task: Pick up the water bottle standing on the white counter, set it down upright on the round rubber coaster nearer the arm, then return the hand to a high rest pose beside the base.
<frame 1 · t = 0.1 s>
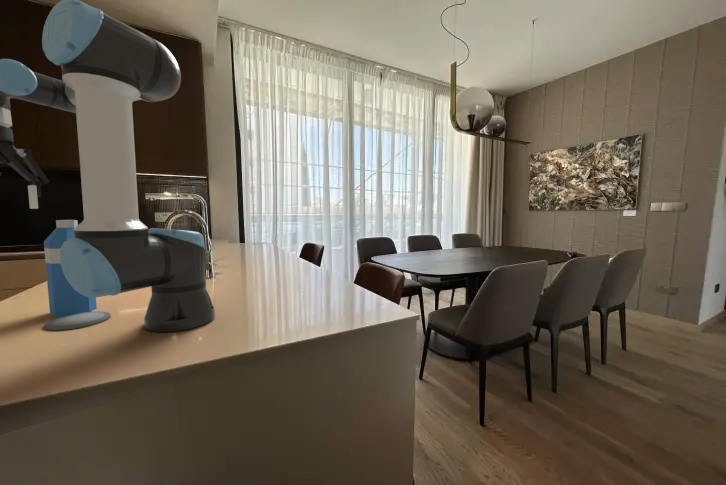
coaster: (79, 321, 76), on the countertop
water bottle: (74, 312, 84), on the countertop
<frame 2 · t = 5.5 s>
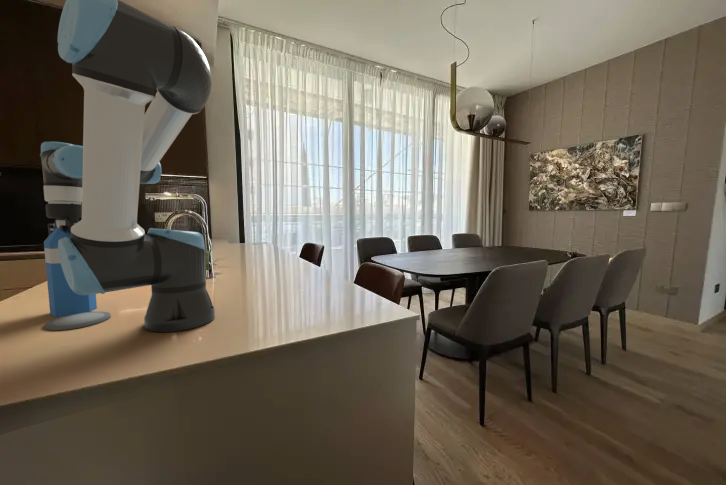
hand: (72, 286, 84), 7 cm above the countertop, fingers closed on water bottle, 9 cm apart
water bottle: (74, 311, 84), on the countertop, touching gripper
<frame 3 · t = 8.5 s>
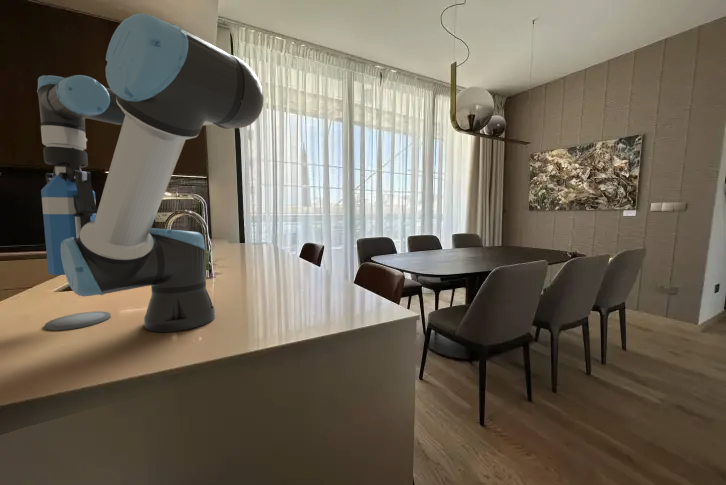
hand: (73, 243, 75), 20 cm above the countertop, fingers closed on water bottle, 9 cm apart
water bottle: (75, 272, 75), point 12 cm above the countertop, touching gripper
when the fingers open (8 cm above the countertop, at t = 11.3 s): water bottle stays where it is, resting on coaster.
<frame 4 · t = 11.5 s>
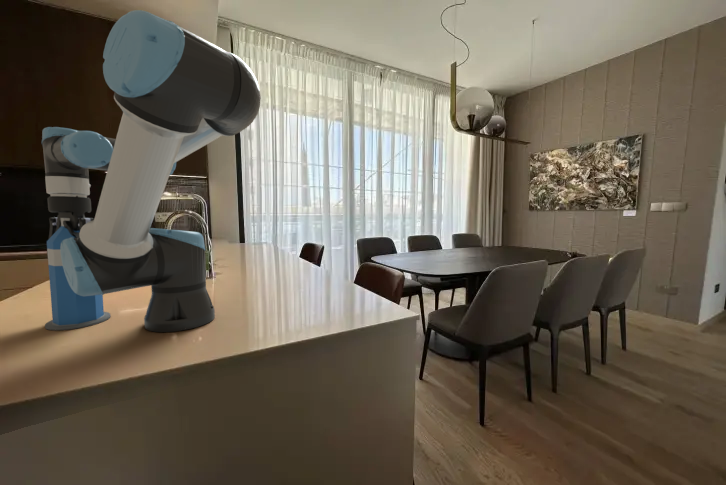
hand: (76, 285, 76), 9 cm above the countertop, fingers open, 11 cm apart
water bottle: (79, 319, 76), point 1 cm above the countertop, touching coaster
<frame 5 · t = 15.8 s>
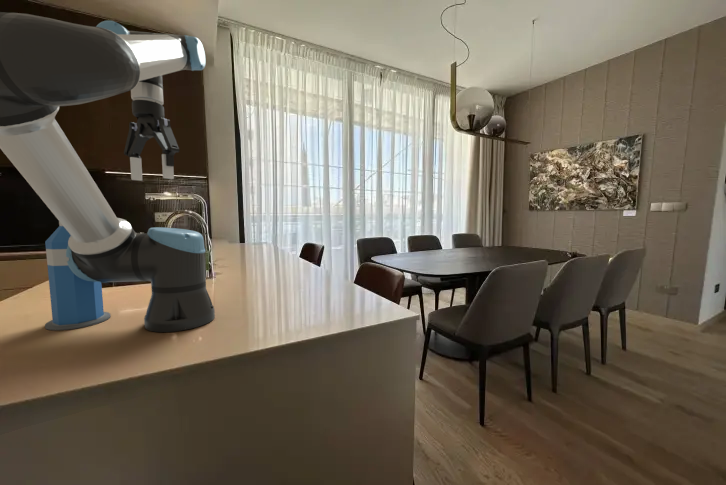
hand: (152, 179, 88), 37 cm above the countertop, fingers open, 13 cm apart
water bottle: (79, 319, 76), point 1 cm above the countertop, touching arm, coaster
at the end: water bottle 0.1 cm from the coaster (horizontally); water bottle tilted 1°; the gripper is holding nothing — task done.
